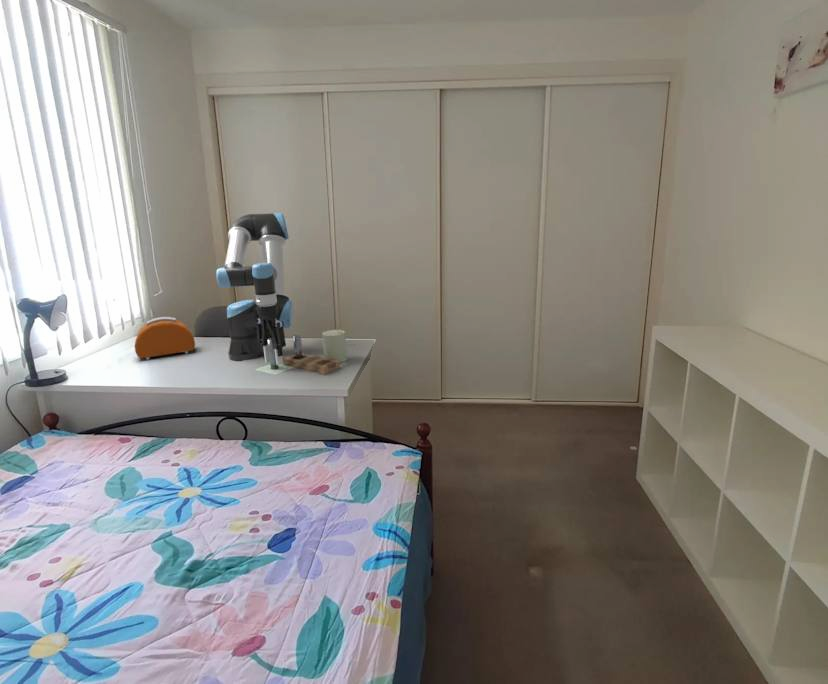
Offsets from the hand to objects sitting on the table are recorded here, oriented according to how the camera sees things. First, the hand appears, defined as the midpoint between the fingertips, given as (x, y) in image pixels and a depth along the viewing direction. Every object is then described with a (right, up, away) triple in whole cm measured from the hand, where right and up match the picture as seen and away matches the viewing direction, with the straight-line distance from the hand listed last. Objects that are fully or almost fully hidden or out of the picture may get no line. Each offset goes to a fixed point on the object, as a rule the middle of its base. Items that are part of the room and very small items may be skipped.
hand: (274, 362), depth 203 cm
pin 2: (+9, -1, +6) cm, 10 cm away
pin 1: (0, -2, +1) cm, 2 cm away
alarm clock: (-54, +2, +26) cm, 60 cm away
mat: (0, -3, +1) cm, 3 cm away
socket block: (+14, -2, +2) cm, 14 cm away
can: (+23, +1, +9) cm, 25 cm away
